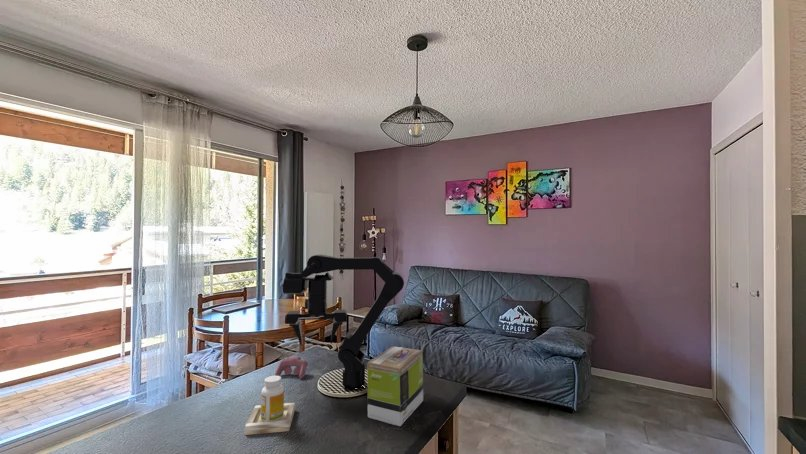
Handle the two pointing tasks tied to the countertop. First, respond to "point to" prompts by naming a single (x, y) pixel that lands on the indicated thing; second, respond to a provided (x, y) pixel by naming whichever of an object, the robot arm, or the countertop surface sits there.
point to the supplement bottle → (272, 399)
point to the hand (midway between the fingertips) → (316, 343)
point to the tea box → (395, 384)
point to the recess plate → (259, 427)
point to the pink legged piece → (292, 361)
